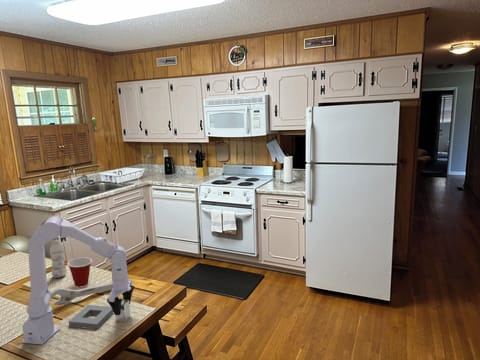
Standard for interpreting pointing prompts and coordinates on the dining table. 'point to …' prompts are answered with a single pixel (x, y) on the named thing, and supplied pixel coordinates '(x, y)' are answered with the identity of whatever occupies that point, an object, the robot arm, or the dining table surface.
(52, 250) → the plastic bottle
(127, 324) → the dining table surface
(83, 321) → the socket block
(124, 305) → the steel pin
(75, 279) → the plastic cup
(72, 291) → the wrench
